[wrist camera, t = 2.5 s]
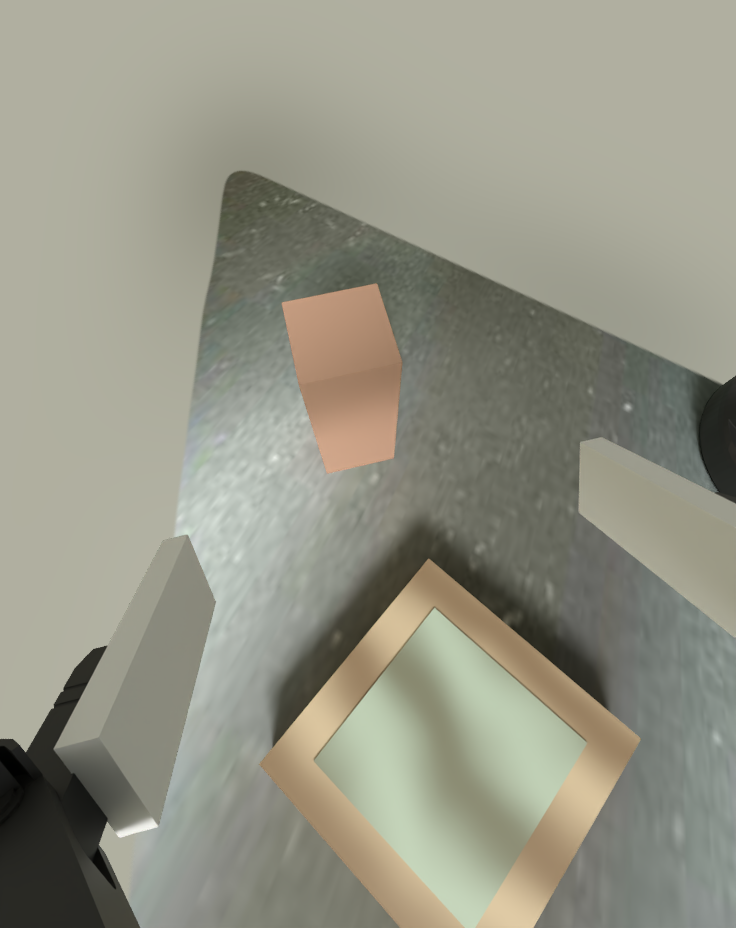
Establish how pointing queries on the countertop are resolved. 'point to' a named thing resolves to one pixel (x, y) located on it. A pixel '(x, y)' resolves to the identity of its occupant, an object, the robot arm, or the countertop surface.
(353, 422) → the tall block
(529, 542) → the countertop surface
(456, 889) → the oak picture frame
